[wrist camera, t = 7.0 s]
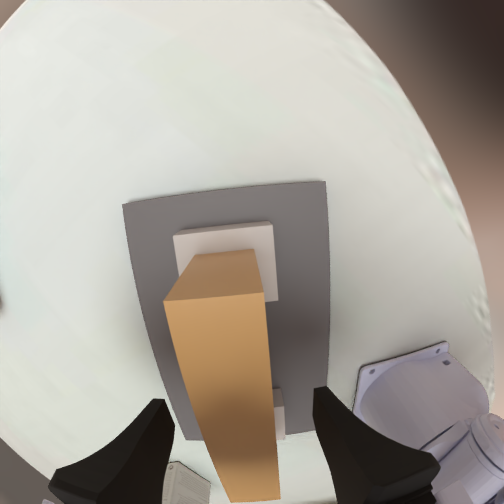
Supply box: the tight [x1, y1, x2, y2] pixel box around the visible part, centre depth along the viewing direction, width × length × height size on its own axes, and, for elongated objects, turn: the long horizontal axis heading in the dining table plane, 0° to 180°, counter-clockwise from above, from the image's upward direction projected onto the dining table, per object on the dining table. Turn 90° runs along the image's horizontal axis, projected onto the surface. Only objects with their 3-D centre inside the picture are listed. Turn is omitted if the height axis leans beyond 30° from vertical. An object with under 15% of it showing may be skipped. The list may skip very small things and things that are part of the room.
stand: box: [122, 181, 330, 441], centre depth 16 cm, size 12×20×4 cm, turn 5°
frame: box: [163, 249, 281, 503], centre depth 12 cm, size 3×14×6 cm, turn 6°
